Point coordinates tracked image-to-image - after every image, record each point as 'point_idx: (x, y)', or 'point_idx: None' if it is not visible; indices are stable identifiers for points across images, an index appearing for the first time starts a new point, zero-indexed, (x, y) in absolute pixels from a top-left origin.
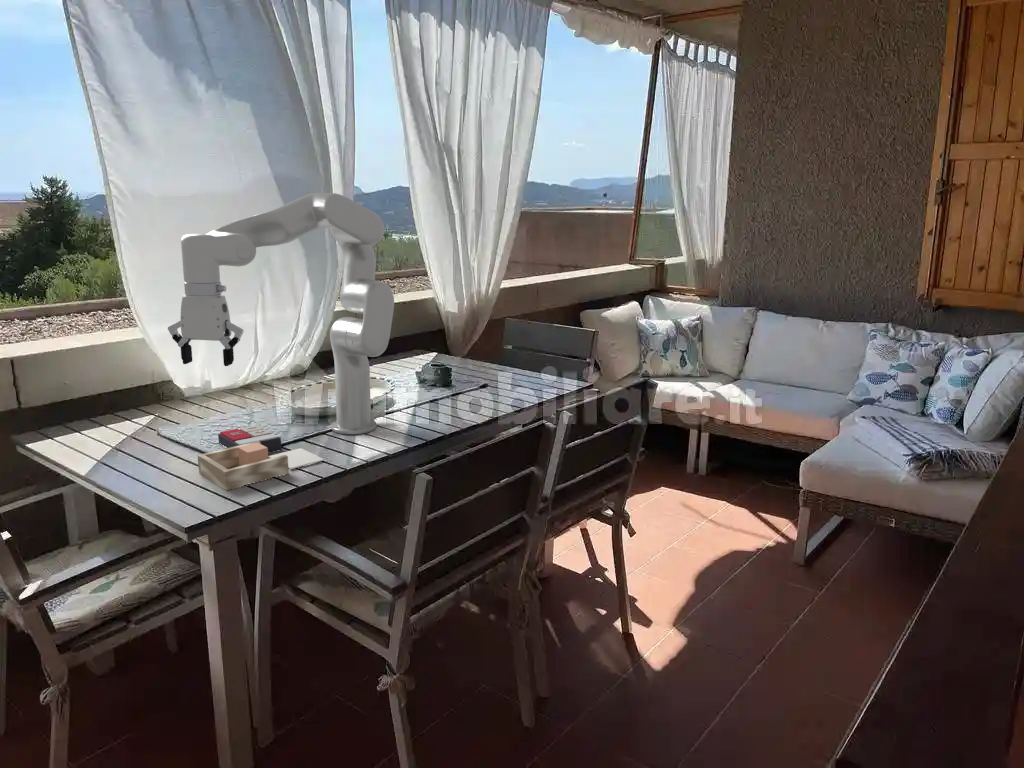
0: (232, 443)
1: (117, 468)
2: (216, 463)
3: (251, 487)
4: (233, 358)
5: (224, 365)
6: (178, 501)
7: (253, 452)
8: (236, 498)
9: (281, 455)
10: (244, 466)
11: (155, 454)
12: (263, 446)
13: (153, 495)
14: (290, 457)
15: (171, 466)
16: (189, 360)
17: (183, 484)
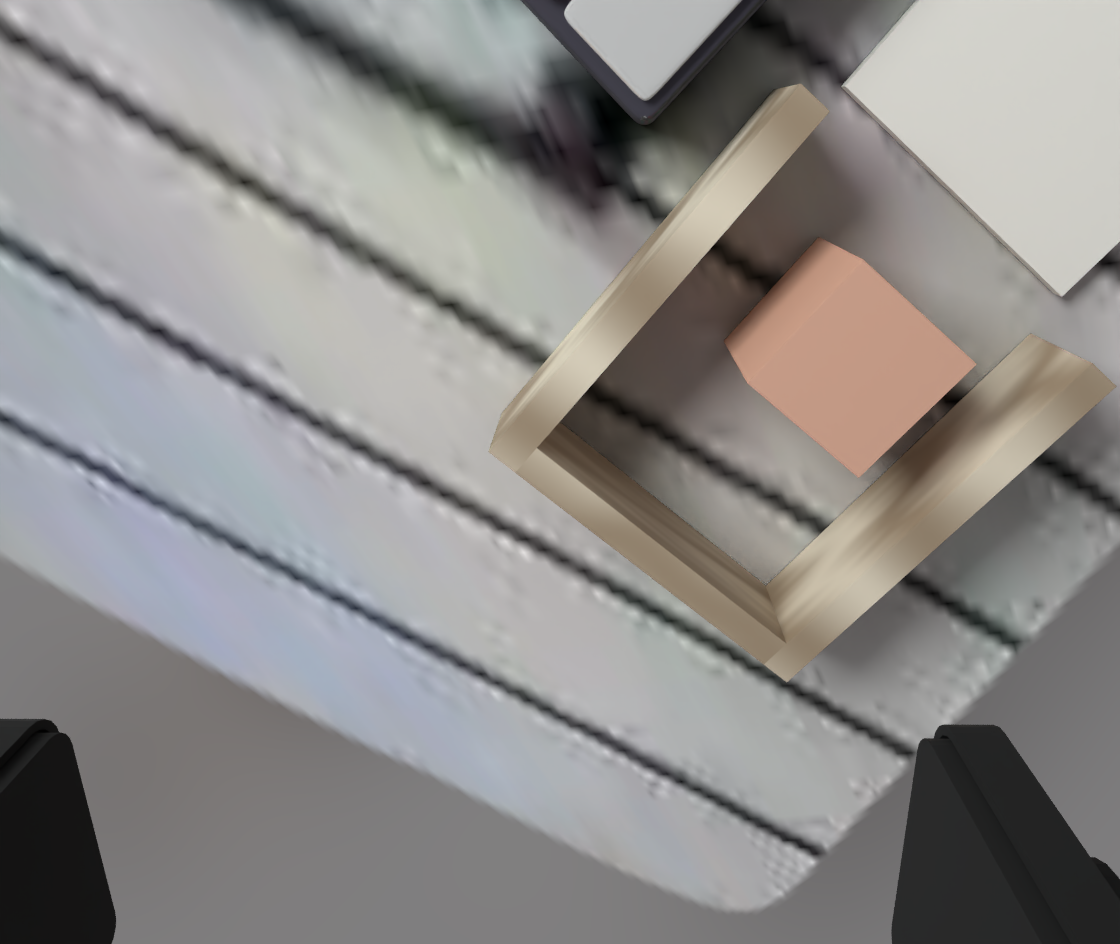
0: (543, 20)
1: (3, 405)
2: (680, 570)
3: None
4: (1115, 892)
5: (897, 934)
6: (591, 745)
7: (887, 443)
8: (850, 691)
9: (939, 53)
10: (872, 595)
11: (32, 134)
12: (935, 340)
13: (438, 700)
14: (1018, 86)
15: (279, 331)
16: (69, 855)
17: (504, 568)
